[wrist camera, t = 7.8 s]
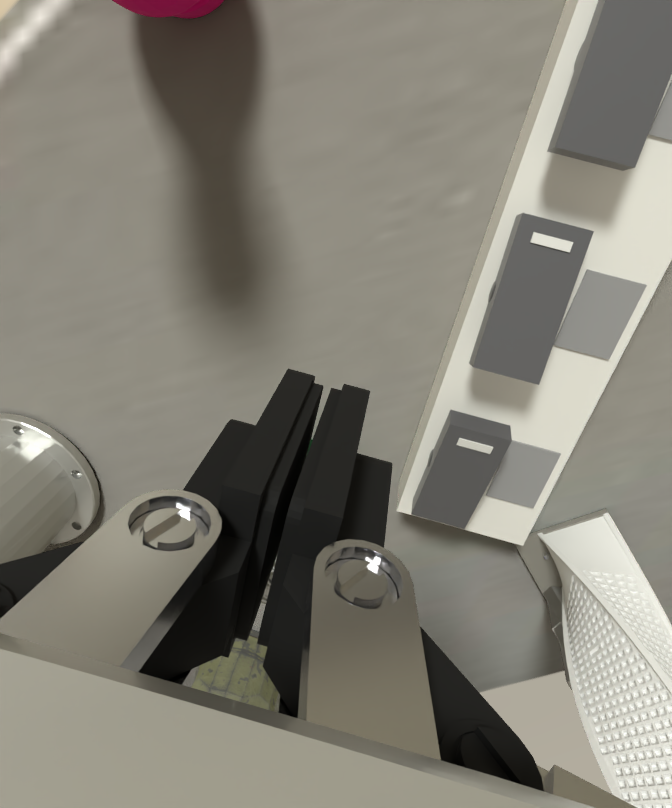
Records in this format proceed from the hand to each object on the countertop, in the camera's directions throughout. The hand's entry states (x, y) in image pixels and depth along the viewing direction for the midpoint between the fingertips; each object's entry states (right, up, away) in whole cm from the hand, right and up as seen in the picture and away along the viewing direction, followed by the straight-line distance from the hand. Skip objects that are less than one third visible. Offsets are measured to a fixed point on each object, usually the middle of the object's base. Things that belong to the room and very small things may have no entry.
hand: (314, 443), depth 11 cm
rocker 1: (+8, -3, +24) cm, 25 cm away
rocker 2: (+13, +16, +13) cm, 24 cm away
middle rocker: (+10, +6, +18) cm, 22 cm away
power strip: (+13, +8, +22) cm, 27 cm away
